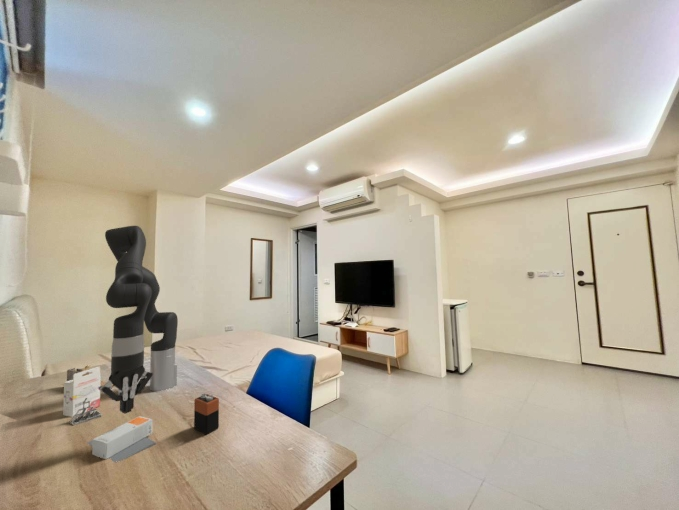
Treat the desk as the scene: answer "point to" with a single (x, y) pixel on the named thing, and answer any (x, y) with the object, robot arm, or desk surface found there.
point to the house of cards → (87, 416)
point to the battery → (206, 413)
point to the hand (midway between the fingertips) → (126, 412)
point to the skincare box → (121, 437)
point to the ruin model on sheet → (72, 372)
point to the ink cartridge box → (82, 392)
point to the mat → (131, 449)
